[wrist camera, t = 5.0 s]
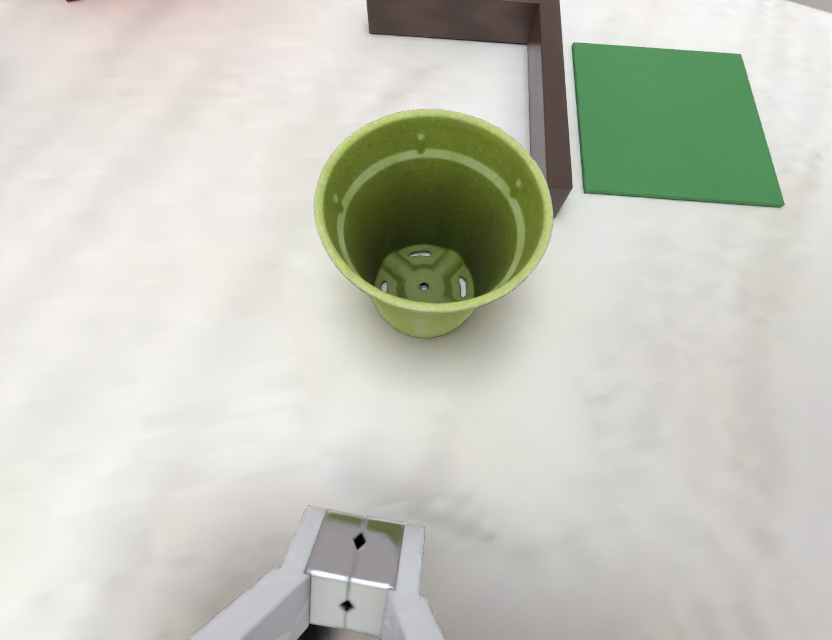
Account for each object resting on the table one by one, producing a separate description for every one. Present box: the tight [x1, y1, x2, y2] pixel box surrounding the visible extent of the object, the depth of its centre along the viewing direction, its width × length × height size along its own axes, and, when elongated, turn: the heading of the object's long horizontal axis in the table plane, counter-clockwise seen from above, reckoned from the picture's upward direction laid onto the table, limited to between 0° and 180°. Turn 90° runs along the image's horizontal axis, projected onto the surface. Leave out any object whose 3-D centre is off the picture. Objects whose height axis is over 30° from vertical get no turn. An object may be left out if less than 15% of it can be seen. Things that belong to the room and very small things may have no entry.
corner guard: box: [366, 0, 573, 218], centre depth 27 cm, size 14×18×3 cm
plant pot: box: [314, 109, 553, 338], centre depth 20 cm, size 9×9×9 cm
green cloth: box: [572, 42, 785, 207], centre depth 28 cm, size 13×14×1 cm
